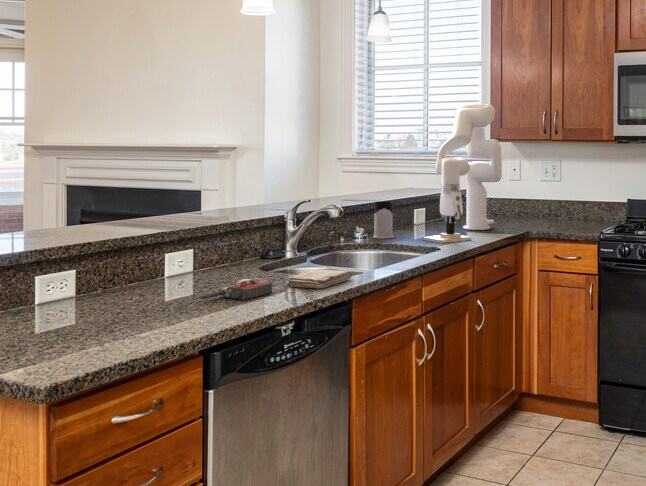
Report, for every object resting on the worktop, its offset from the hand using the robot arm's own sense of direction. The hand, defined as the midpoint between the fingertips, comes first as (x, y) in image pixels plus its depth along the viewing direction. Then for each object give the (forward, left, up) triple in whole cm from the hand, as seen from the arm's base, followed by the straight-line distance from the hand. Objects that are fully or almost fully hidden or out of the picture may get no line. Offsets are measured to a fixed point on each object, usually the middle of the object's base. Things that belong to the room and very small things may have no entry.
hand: (450, 232), depth 310 cm
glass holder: (+14, -29, -4) cm, 32 cm away
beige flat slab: (0, -2, -3) cm, 4 cm away
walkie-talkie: (+115, +50, -4) cm, 125 cm away
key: (0, 0, -2) cm, 2 cm away
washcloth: (+88, +46, -4) cm, 100 cm away
